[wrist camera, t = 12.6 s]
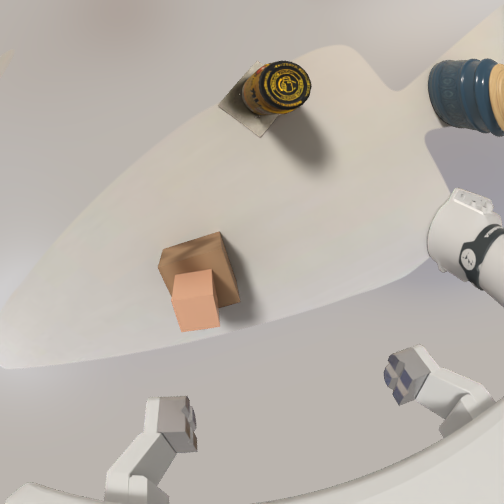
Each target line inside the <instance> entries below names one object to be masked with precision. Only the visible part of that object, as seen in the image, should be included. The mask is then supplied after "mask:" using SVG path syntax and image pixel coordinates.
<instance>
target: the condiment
mask: <svg viewBox="0 0 504 504" xmlns="http://www.w3.org/2000/svg"><path fill="white" fill-rule="evenodd" d="M310 90H311V81H310V79H309V76H308V74H307V73H306V72H305V70H304V69H303V68H302V67H300V66H299V65H297V64H295V63H292V62H288V61H278V62H274V63H269V64H266V65H263V64H261V63H260V62H259V61H257V62H256V63H255V64H254V65H253V66H252V67H251V68H250V69H249V70H248V72H246V73H245V75H244V76H243V77H242V78H241V79H240V80H239V81H238V82H237V84H236V85H235V86H234V87H233V88H232V89H231V90H230V92H229V93H228V94H227V95H226V97H225V98H224V99H223V100H222V101H221V102H220V104H219V105H218V106H219V107H220V108H221V109H223V110H224V111H226V112H227V113H228V114H230V115H231V116H232V117H234V118H235V119H236V120H238V121H239V122H240V123H242V124H243V125H244V126H246V127H247V128H248V129H250V130H251V131H252V132H254V133H255V134H256V135H257V136H259V137H261V136H262V135H263V134H264V132H265V131H266V130H267V129H268V128H269V126H270V125H271V124H272V123H273V122H274V120H275V119H276V118H277V117H278V116H279V114H286V113H288V112H291V111H293V110H295V109H297V108H299V107H300V106H301V105H303V104H304V103H305V101H306V100H307V99H308V97H309V95H310ZM239 94H240V95H239ZM259 115H260V116H261V117H257V118H255V117H256V116H259Z"/></svg>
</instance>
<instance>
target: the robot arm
mask: <svg viewBox="0 0 504 504" xmlns="http://www.w3.org/2000/svg"><path fill="white" fill-rule="evenodd" d="M493 208H494V205H492V201H491V200H490V199H488V198H486V197H483V196H480V195H477V194H475V193H472V192H469V191H466V190H463V189H460V188H455V189H454V191H453V192H452V194H451V196H450V198H449V200H448V201H447V202H446V203H445V204H444V205H443V206H442V207H441V208H440V209H439V211H438V212H437V214H436V215H435V217H434V219H433V221H432V223H431V226H430V229H429V233H428V241H427V245H428V252H429V255H430V256H431V258H432V259H433V260H434V261H435V262H436V263H437V264H438V268H439V270H440V271H442V272H443V273H444V272H447V271H448V272H450V273H451V274H453V275H455V276H456V277H457V278H459V279H460V280H462V281H464V282H466V281H470V282H471V283H472V284H473V285H474V286H475V287H477V288H479V289H480V290H484V291H486V292H487V293H488V294H489V295H490V296H491V297H493V298H494V299H495V300H496V301H497V302H498V303H499V304H500V305H501V306H503V307H504V228H503V227H502V220H501V217H500V215H498V214H497V213H495V212H493ZM388 361H389V364H388V365H387V366H386V367H385V370H384V379H385V382H386V384H387V386H388V387H389V388H391V389H393V396H394V398H395V400H396V401H397V403H398V405H399V406H400V405H402V404H405V403H407V402H409V401H412V400H415V401H417V402H418V403H420V404H421V405H423V406H425V407H426V408H428V409H429V410H431V411H432V412H434V413H436V414H437V415H439V416H440V417H442V418H444V419H445V421H444V422H443V423H442V424H441V425H440V427H439V431H440V433H441V434H442V436H443V439H441V440H440V441H438V442H436V443H434V444H433V445H431V446H429V447H427V448H425V449H423V450H422V451H420V452H418V453H416V454H414V455H412V456H410V457H408V458H405V459H403V460H401V461H399V462H397V463H395V464H392V465H390V466H388V467H385V468H383V469H381V470H378V471H376V472H373V473H371V474H368V475H365V476H363V477H360V478H357V479H354V480H351V481H348V482H345V483H343V484H339V485H336V486H333V487H329V488H326V489H322V490H319V491H315V492H311V493H307V494H303V495H298V496H294V497H289V498H284V499H279V500H274V501H268V502H261V503H254V504H504V397H503V398H502V399H500V400H499V401H497V402H495V401H494V399H493V398H492V397H491V395H490V394H489V393H488V391H487V390H486V389H485V387H484V386H483V385H482V384H481V383H478V382H476V381H474V380H471V379H469V378H467V377H464V376H462V375H460V374H457V373H455V372H453V371H450V370H448V369H446V368H444V367H443V368H440V367H439V366H438V364H437V363H436V362H435V360H434V359H433V358H432V357H431V355H430V354H429V353H428V352H427V350H426V349H425V348H424V347H423V346H422V345H421V344H419V345H416V346H413V347H411V348H407V349H405V350H402V351H399V352H396V353H393V354H392V355H390V356H389V359H388ZM195 429H196V418H195V413H194V410H193V408H192V406H190V402H189V398H188V397H187V396H176V397H149V398H148V400H147V403H146V412H145V422H144V432H143V433H140V434H139V435H138V436H137V437H136V438H135V440H134V441H133V442H132V443H131V444H130V445H129V447H128V448H127V449H126V450H125V451H124V452H123V454H122V455H121V456H120V457H119V458H118V460H117V461H116V462H115V463H114V464H113V465H112V466H111V468H110V469H109V470H108V471H107V477H106V487H105V497H104V501H102V500H97V499H92V498H87V497H83V496H78V495H74V494H70V493H66V492H62V491H59V490H56V489H52V488H49V487H46V486H43V485H40V484H37V483H33V482H28V483H26V484H24V485H22V486H21V487H20V488H19V489H17V490H16V491H15V492H14V493H13V494H11V495H10V496H9V497H8V499H7V500H6V502H5V504H169V496H168V495H167V494H166V493H165V492H163V491H162V490H161V489H160V488H158V487H157V485H158V483H159V482H160V480H161V479H162V477H163V475H164V474H165V472H166V471H167V469H168V467H169V466H170V464H171V462H172V461H173V459H174V458H175V456H176V453H187V452H197V437H196V435H195V433H194V431H195Z"/></svg>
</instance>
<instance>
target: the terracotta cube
mask: <svg viewBox="0 0 504 504" xmlns="http://www.w3.org/2000/svg"><path fill="white" fill-rule="evenodd" d="M171 302H172V305H173V308H174V311H175V314H176V317H177V320H178V323H179V326H180V329H181V332H186V331H194V330H201V329H208V328H214V327H220V319H219V308H218V298H217V293H216V289H215V284H214V279H213V274H212V269H209V270H202V271H196V272H190V273H184V274H177V275H175V279H174V286H173V292H172V299H171Z"/></svg>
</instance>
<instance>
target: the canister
mask: <svg viewBox="0 0 504 504" xmlns="http://www.w3.org/2000/svg"><path fill="white" fill-rule="evenodd" d="M428 89H429V95H430V99H431V103H432V105H433V107H434V109H435V111H436V113H437V114H438V116H439V117H440V118H441V119H442V120H443V121H444V122H445V123H447V124H449V125H451V126H453V127H458V128H468V129H472V130H477V131H479V132H482V133H489V132H491V133H492V134H493V135H495V136H498V137H500V136H504V65H503V64H498V63H497V62H495V61H494V60H492V59H483V60H482V61H480V60H477V59H469V60H458V61H454V60H445V61H442V62H440V63H437V64H436V65H435V66H434V67H433V68H432V70H431V72H430V75H429V81H428Z"/></svg>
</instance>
